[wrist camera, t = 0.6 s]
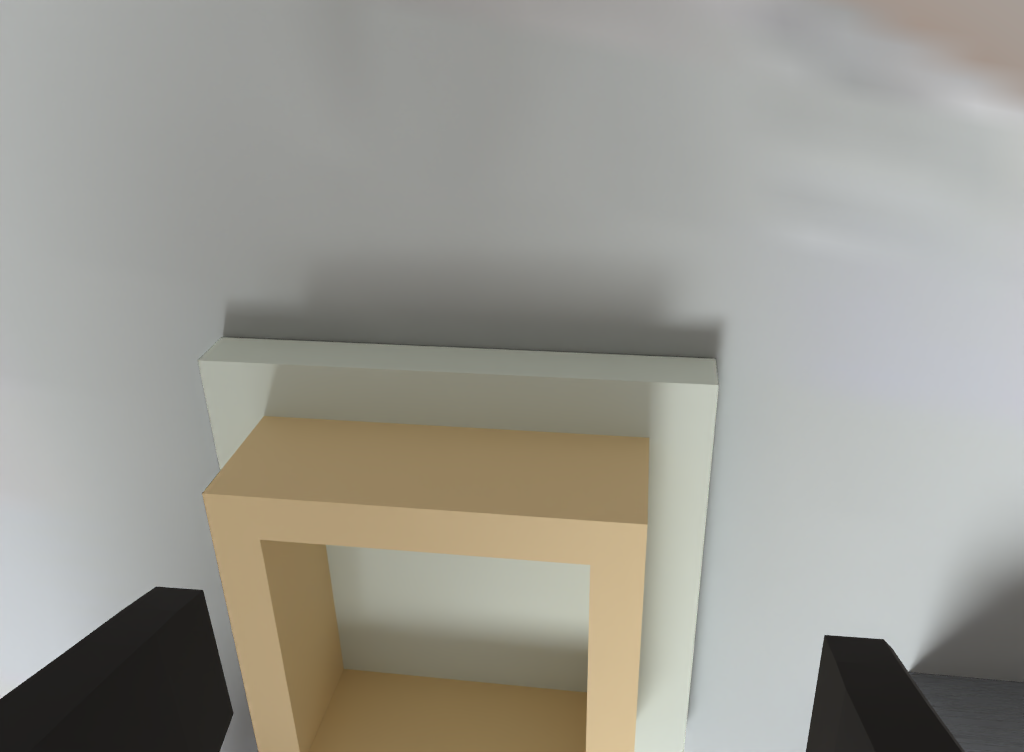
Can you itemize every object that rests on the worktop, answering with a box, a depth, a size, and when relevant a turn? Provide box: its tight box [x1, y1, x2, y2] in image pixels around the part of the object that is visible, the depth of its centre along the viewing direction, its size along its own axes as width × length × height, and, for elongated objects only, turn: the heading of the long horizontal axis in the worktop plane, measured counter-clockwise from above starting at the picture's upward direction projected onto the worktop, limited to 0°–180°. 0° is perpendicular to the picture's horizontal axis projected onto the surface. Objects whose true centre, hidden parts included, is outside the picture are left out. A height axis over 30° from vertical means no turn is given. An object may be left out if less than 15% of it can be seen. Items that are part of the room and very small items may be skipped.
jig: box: [198, 337, 719, 752], centre depth 20 cm, size 11×11×4 cm
